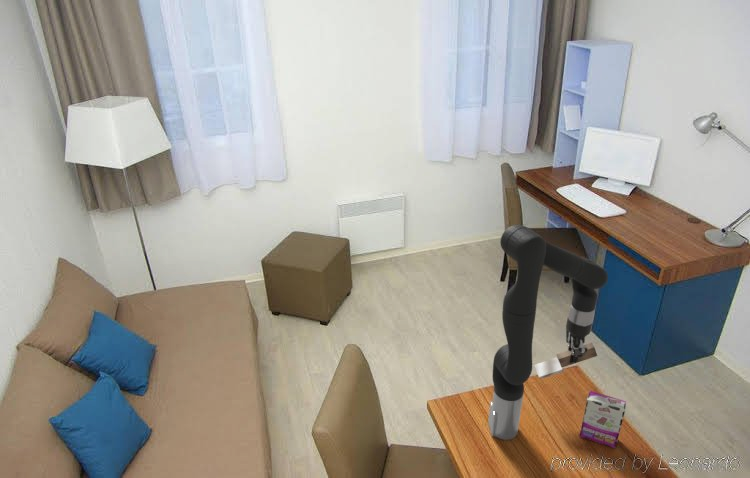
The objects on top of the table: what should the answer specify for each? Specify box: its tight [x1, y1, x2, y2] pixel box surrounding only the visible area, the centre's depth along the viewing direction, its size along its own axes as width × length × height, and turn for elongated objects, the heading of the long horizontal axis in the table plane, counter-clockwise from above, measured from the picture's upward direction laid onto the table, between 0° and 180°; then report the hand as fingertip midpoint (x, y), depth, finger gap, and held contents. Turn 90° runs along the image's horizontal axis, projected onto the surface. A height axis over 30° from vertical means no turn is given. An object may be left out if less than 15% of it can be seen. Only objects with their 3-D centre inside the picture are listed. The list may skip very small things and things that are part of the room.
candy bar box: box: [579, 390, 627, 449], centre depth 168 cm, size 11×5×16 cm, turn 62°
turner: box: [533, 342, 598, 380], centre depth 174 cm, size 20×6×4 cm, turn 89°
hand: (571, 359), depth 174 cm, fingers closed on turner, 2 cm apart
